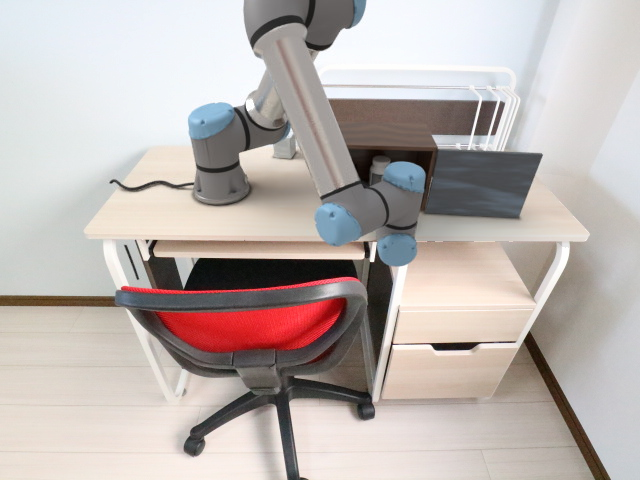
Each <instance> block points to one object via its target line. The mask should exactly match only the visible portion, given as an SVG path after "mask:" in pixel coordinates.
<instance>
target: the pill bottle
mask: <svg viewBox="0 0 640 480" xmlns="http://www.w3.org/2000/svg"><path fill="white" fill-rule="evenodd" d="M372 163H373V165H372V166H371V167H370V173H369V183H368V184H369V185H371V186H372V185H375V184H377V183H380V182H382V181H383V175H384V171H385V168H386V167H387V166H388V165H389V164H390V158H389V157H386V156H381V155H380V156H375V157H373V161H372Z"/></svg>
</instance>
